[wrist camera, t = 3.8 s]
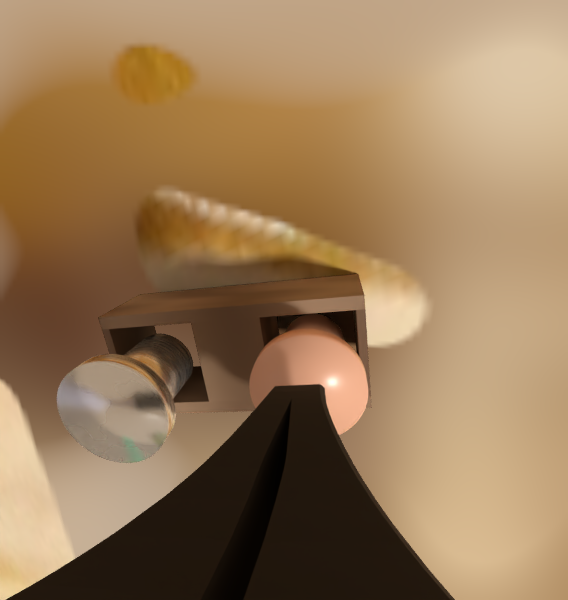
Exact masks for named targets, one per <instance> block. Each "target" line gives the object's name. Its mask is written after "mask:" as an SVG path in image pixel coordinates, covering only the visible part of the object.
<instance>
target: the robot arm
mask: <svg viewBox="0 0 568 600" xmlns="http://www.w3.org/2000/svg"><path fill="white" fill-rule="evenodd" d="M6 600H455V599H454V598H453V597H452V596H451V595H450V594H449V593H448V591H447V590H446V589H445V588H444V587H443V586H442V584H441V583H440V582H439V581H438V580H437V579H436V578H435V576H434V575H433V574H432V573H431V572H430V570H429V569H428V568H427V567H426V565H425V564H424V563H423V562H422V560H421V559H420V558H419V556H418V555H417V554H416V553H415V551H414V550H413V549H412V548H411V546H410V545H409V544H408V543H407V541H406V540H405V539H404V537H403V536H402V535H401V534H400V532H399V531H398V530H397V529H396V527H395V526H394V525H393V524H392V522H391V521H390V519H389V518H388V516H387V515H386V514H385V512H384V511H383V509H382V508H381V506H380V505H379V504H378V502H377V501H376V500H375V498H374V496H373V495H372V493H371V492H370V490H369V489H368V487H367V485H366V484H365V482H364V481H363V479H362V478H361V476H360V474H359V473H358V471H357V469H356V468H355V466H354V464H353V462H352V460H351V458H350V457H349V455H348V453H347V451H346V449H345V447H344V445H343V443H342V441H341V439H340V437H339V435H338V432H337V430H336V428H335V426H334V423H333V421H332V419H331V416H330V413H329V410H328V407H327V404H326V395H325V388H324V387H323V386H322V385H321V384H310V385H287V386H275V387H274V388H273V389H272V390H271V391H270V392H269V393H268V395H267V396H266V397H265V398H264V399H263V400H262V402H261V403H260V404H259V405H258V406H257V408H256V409H255V410H254V411H253V412H252V413H251V415H250V416H249V417H248V418H247V419H246V420H245V421H244V422H243V423H242V425H241V426H240V427H239V428H238V429H237V430H236V431H235V432H234V434H233V435H232V436H231V437H230V438H229V439H228V440H227V441H226V442H225V443H224V444H223V445H222V446H221V447H220V448H219V449H218V450H217V451H216V452H215V453H214V454H213V455H212V456H211V457H210V458H209V459H208V460H207V461H206V462H205V463H204V464H202V465H201V466H200V467H199V468H198V469H197V470H196V471H195V472H193V473H192V474H191V475H190V476H189V477H188V478H186V479H185V480H184V481H183V482H182V483H180V484H179V485H178V486H177V487H176V488H174V489H173V490H172V491H171V492H170V493H168V494H167V495H166V496H165V497H163V498H162V499H161V500H159V501H158V502H157V503H155V504H154V505H152V506H151V507H150V508H148V509H147V510H146V511H144V512H143V513H142V514H140V515H139V516H137V517H136V518H135V519H133V520H132V521H131V522H129V523H128V524H127V525H125V526H124V527H122V528H121V529H120V530H118V531H117V532H116V533H114V534H112V535H111V536H110V537H108V538H107V539H105V540H103V541H102V542H100V543H99V544H97V545H96V546H94V547H93V548H91V549H90V550H88V551H87V552H85V553H84V554H82V555H81V556H79V557H77V558H76V559H74V560H72V561H71V562H69V563H68V564H66V565H64V566H63V567H61V568H60V569H58V570H56V571H55V572H53V573H51V574H50V575H48V576H46V577H45V578H43V579H41V580H40V581H38V582H36V583H35V584H33V585H31V586H29V587H28V588H26V589H24V590H22V591H21V592H19V593H17V594H15V595H13V596H12V597H10V598H8V599H6Z"/></svg>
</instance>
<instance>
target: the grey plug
mask: <svg viewBox="0 0 568 600" xmlns="http://www.w3.org/2000/svg"><path fill="white" fill-rule="evenodd" d="M192 370H193V360H192V357H191V354H190V352H189V350H188V349H187V348H186V346H185V345H184V344H183V343H182V342H181V341H179V340H178V339H176V338H174V337H172V336H170V335H166V334H153V335H150V336H148V337H146V338H144V339H143V340H142V341H141V342H139V343H138V344H137V345H136V346H134V347H133V348H132V349H131V350H129V351H128V352H127V353H126V354H124V355H118V354H103V355H98V356H94V357H92V358H90V359H88V360H87V361H85V362H83V363H82V364H81V365H79V366H78V367H77V368H75V369H74V370H72V371H71V372H69V373H68V374H67V375H66V376H65V377H64V379H63V380H62V382H61V384H60V386H59V389H58V394H57V406H58V411H59V414H60V417H61V420H62V422H63V424H64V426H65V427H66V429H67V430H68V432H69V433H70V434H71V436H72V437H73V438H74V439H75V440H76V441H77V442H78V443H79V444H80V445H81V446H83V447H84V448H86V449H87V450H88V451H90V452H91V453H93V454H95V455H97V456H99V457H101V458H104V459H107V460H110V461H114V462H120V463H121V462H122V463H132V462H139V461H142V460H145V459H147V458H149V457H151V456H152V455H153V454H155V453H156V452H157V451H158V450H159V449H160V447H161V446H162V444H163V443H164V441H165V440H166V438H167V437H168V435H169V434H170V432H171V431H172V429H173V426H174V423H175V416H176V410H175V404H174V400H173V398H174V397H175V396H176V395H177V393H178V392H179V391H180V389H181V388H182V387H183V385H184V384H185V383H186V381H187V380H188V379H189V377H190V376H191V373H192Z"/></svg>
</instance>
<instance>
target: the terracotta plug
mask: <svg viewBox="0 0 568 600" xmlns="http://www.w3.org/2000/svg"><path fill="white" fill-rule="evenodd" d="M310 384H321V385H322V386H323V387H324V388H325V395H326V404H327V407H328V410H329V413H330V416H331V419H332V421H333V423H334V426H335V428H336V430H337V432H338V435H340V434H342V433H344V432H345V431H347V430H348V429H350V428H351V427H352V426H353V425H354V424H355V423H356V422H357V421H358V420H359V419H360V417H361V416H362V414H363V412H364V410H365V408H366V405H367V401H368V383H367V377H366V372H365V368H364V365H363V363H362V361H361V359H360V357H359V356H358V354H357V353H356V351H355V350H354V349H353V348H352V347H351V346H350V345H349V344H348V343H347V342H345V341H344V337H343V333H342V331H341V329H340V328H339V326H338V325H337V324H336V323H335V322H334V321H333V320H331V319H330V318H328V317H326V316H323V315H319V314H306V315H303V316H300V317H298V318H296V319H295V320H294V321H292V322H291V323H290V325H289V326H288V328H287V329H286V332H285V333H283V334H281V335H279V336H277V337H275V338H274V339H273V340H271V341H270V342H269V343H268V344H267V345H266V346H265V347H264V348H263V349H262V351H261V352H260V354H259V356H258V358H257V360H256V362H255V364H254V366H253V369H252V372H251V375H250V382H249V389H250V395H251V399H252V402H253V404H254V407H255V408H257V406H258V405H259V404H260V403H261V402H262V400H263V399H264V398H265V397H266V396H267V395H268V393H269V392H270V391H271V390H272V389H273V388H274V387H275V386H287V385H310Z"/></svg>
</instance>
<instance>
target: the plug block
mask: <svg viewBox="0 0 568 600" xmlns="http://www.w3.org/2000/svg"><path fill="white" fill-rule="evenodd" d="M349 310H354V324H355V337H356V350H357V354H358V356H359V357H360V359H361V361H362V363H363V365H364V368H365V372H366V377H367V383H368V401H367V405H366V408H371V391H370V377H369V360H368V345H367V329H366V314H365V299H364V293H363V289H362V286H361V282H360V279H359V275H358V274H350V275H340V276H329V277H319V278H308V279H298V280H287V281H277V282H266V283H255V284H245V285H234V286H224V287H213V288H203V289H192V290H182V291H171V292H160V293H150V294H140V295H138V296H136V297H135V298H133V299H131V300H129V301H127V302H125V303H124V304H122V305H120V306H118V307H117V308H115V309H113V310H111V311H109V312H107V313H106V314H104V315H102V316H100V317H99V322H100V325H101V328H102V331H103V334H104V338H105V340H106V344H107V347H108V350H109V354H118V355H124V354H126V353H127V352H128V351H129V350H131V349H132V348H133V347H134V346H136V345H137V344H138V343H139V342H141V341H142V340H143V339H144V338H146V337H148V336H150V335H153V334H156V330H155V327H154V325H167V324H180V323H191V325H192V329H193V333H194V338H195V342H196V347H197V351H198V354H199V360H200V364H201V366H198V367H193V370H192V373H191V376H190V377H189V379H188V380H187V381H186V383H185V384H184V385H183V387H182V388H181V389H180V391H179V392H178V393H177V395H176V396H175V397H174V398H173V400H174V404H175V410H176V413H201V412H236V411H254V410H255V409H256V408H255V407H254V404H253V402H252V399H251V395H250V389H249V382H250V375H251V372H252V369H253V366H254V364H255V362H256V360H257V358H258V356H259V354H260V352H261V351H262V349H263V348H264V347H265V346H266V345H267V344H268V343H269V342H270V341H271V340H273V339H274V338H275V337H277V336H279V329H278V322H277V316H284V315H297V314H310V313H323V312H336V311H349Z"/></svg>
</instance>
